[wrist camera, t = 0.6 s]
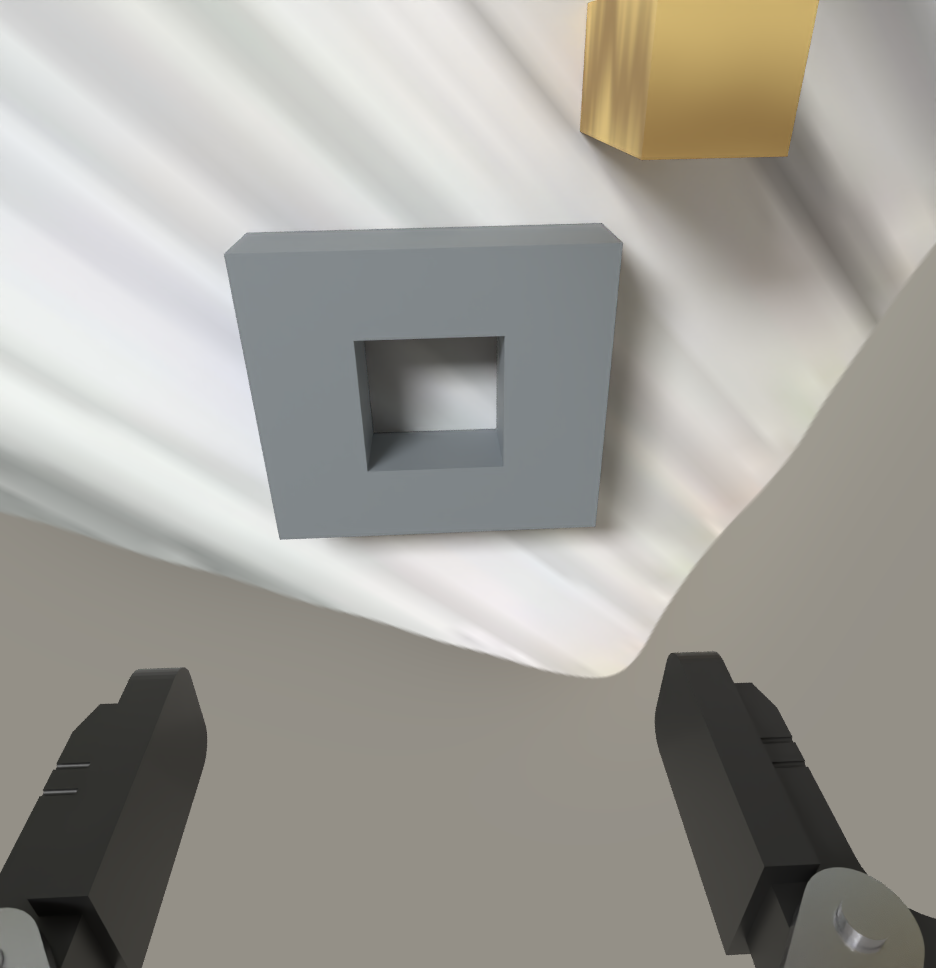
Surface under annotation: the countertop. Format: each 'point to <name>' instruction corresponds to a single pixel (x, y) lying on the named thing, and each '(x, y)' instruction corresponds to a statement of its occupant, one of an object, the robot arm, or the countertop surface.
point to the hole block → (419, 315)
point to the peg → (695, 76)
